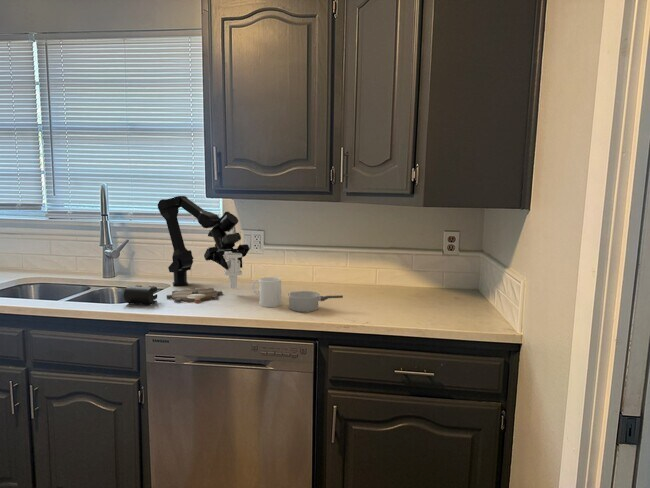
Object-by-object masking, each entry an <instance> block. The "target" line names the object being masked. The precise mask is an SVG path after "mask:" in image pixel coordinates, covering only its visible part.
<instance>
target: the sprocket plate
mask: <svg viewBox="0 0 650 488" xmlns="http://www.w3.org/2000/svg"><path fill="white" fill-rule="evenodd" d="M171 292H172V293H171V294H166V300H172V301H174V303H178V304H179V303H181V302H182V303H195V304H199V303H200V304H201V302H205V301H211V300H212V301H213V300H214V301H215V300H219V296H223V291H222V290H216V289H215V288H213V287H208V288H196V287H190V288H188V289H181V290H176V289H175V290H172V291H171Z"/></svg>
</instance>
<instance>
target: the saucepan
mask: <svg viewBox="0 0 650 488" xmlns="http://www.w3.org/2000/svg"><path fill="white" fill-rule="evenodd" d="M287 296H289V297H288V299H289V301H288V303H289V304H288V305H289V307H288V308H289V309H290V310H293V311H294V312H297V313H309V312H310V313H311V312H313V311H314V312H315V311H316V310H317V309H318V308H319V302H324V301H326V300H328V299H344V295H325V296H323V295H320V293H318V292H316V291H312V290H311V291H310V290H295V291H292V292H290V293H288V295H287Z"/></svg>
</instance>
